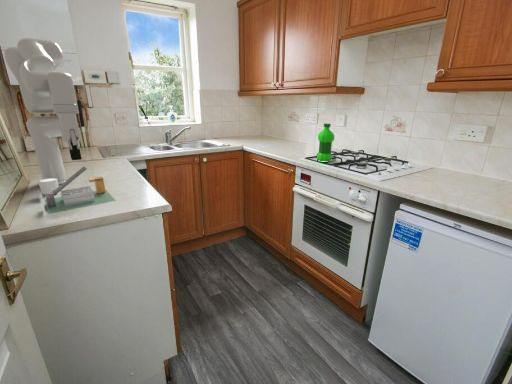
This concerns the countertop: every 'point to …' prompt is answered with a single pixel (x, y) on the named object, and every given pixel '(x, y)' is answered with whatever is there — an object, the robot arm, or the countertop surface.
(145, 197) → the countertop surface
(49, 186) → the white grey cylinder
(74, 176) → the strap
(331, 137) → the plastic bottle
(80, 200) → the heat sink
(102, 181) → the block
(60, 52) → the robot arm
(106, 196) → the circuit board
